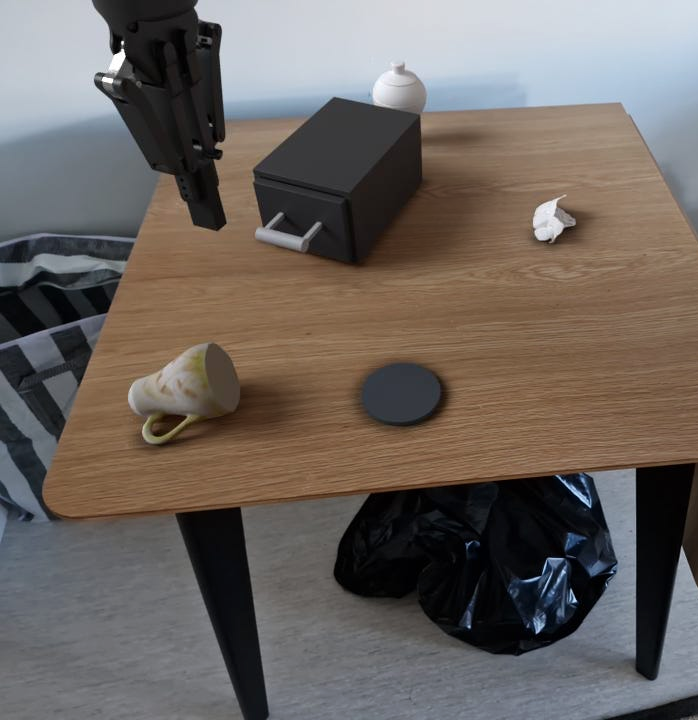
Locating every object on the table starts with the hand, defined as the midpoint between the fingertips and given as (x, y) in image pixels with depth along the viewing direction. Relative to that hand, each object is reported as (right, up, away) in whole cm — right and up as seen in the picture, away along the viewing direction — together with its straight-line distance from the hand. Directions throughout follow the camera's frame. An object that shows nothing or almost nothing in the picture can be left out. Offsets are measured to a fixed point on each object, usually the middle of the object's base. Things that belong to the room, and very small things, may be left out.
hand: (210, 223), depth 69 cm
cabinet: (+8, +7, +27) cm, 29 cm away
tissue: (+35, +4, +26) cm, 44 cm away
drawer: (+7, +5, +24) cm, 25 cm away
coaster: (+18, -16, +5) cm, 25 cm away
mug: (-3, -18, +3) cm, 18 cm away
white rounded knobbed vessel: (+14, +20, +40) cm, 47 cm away
